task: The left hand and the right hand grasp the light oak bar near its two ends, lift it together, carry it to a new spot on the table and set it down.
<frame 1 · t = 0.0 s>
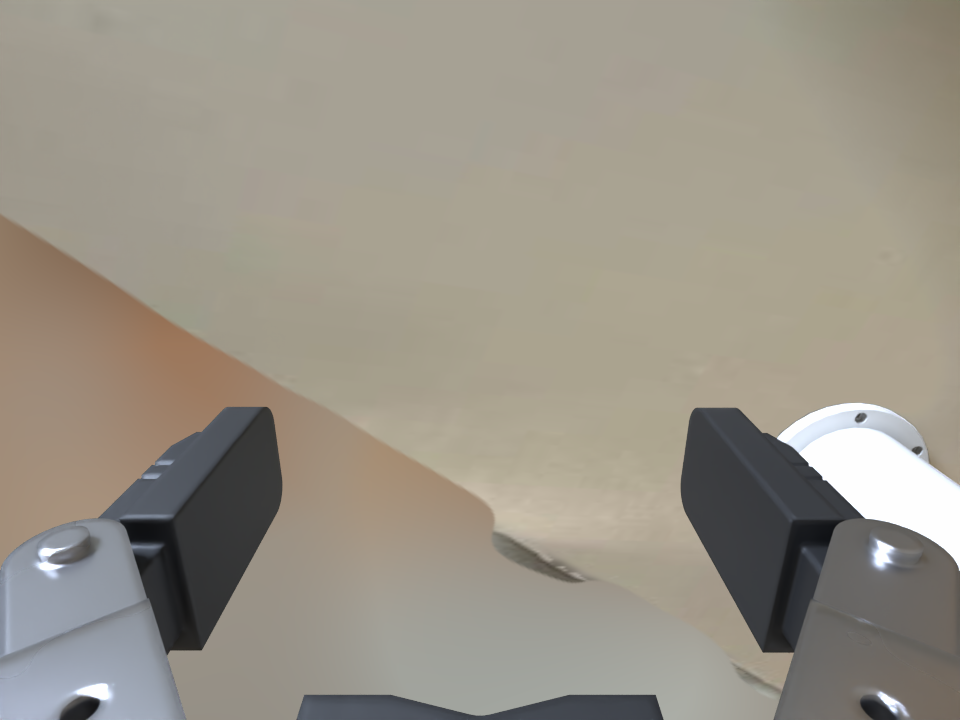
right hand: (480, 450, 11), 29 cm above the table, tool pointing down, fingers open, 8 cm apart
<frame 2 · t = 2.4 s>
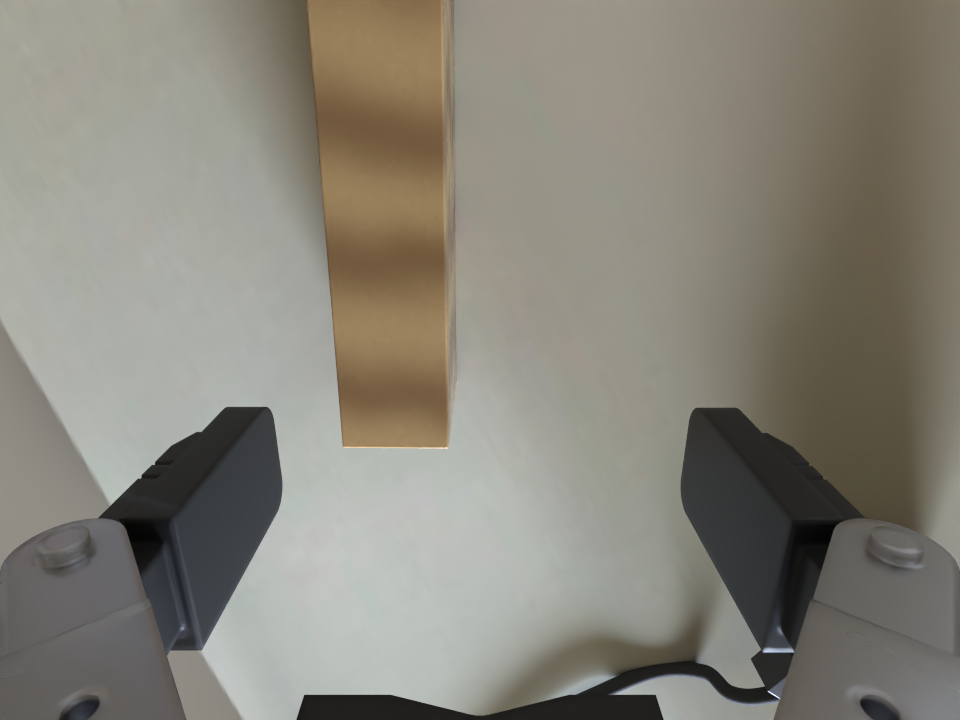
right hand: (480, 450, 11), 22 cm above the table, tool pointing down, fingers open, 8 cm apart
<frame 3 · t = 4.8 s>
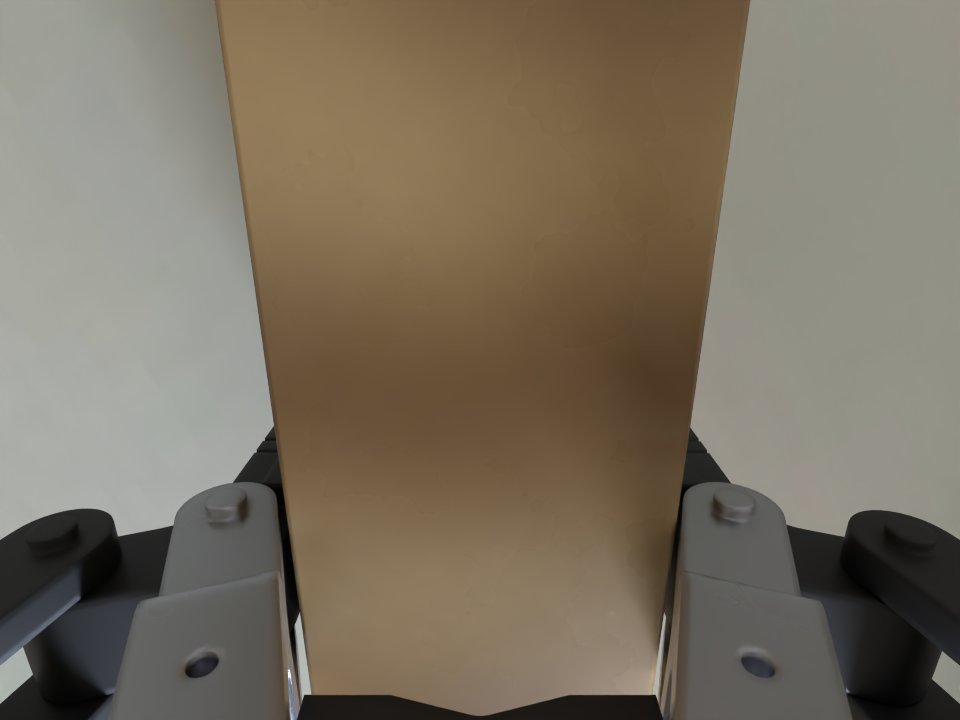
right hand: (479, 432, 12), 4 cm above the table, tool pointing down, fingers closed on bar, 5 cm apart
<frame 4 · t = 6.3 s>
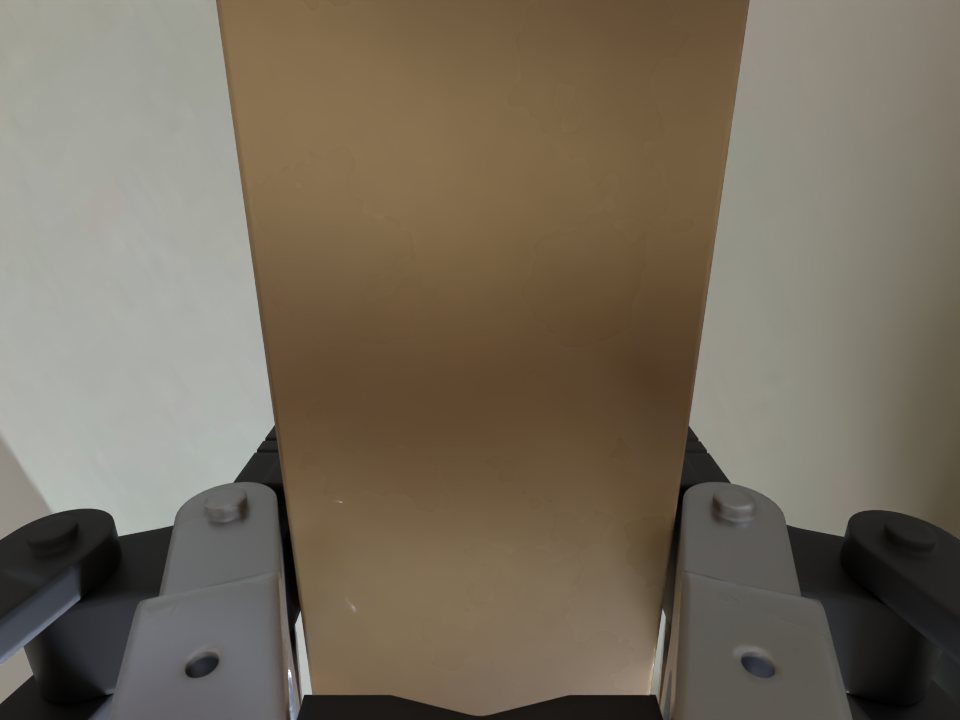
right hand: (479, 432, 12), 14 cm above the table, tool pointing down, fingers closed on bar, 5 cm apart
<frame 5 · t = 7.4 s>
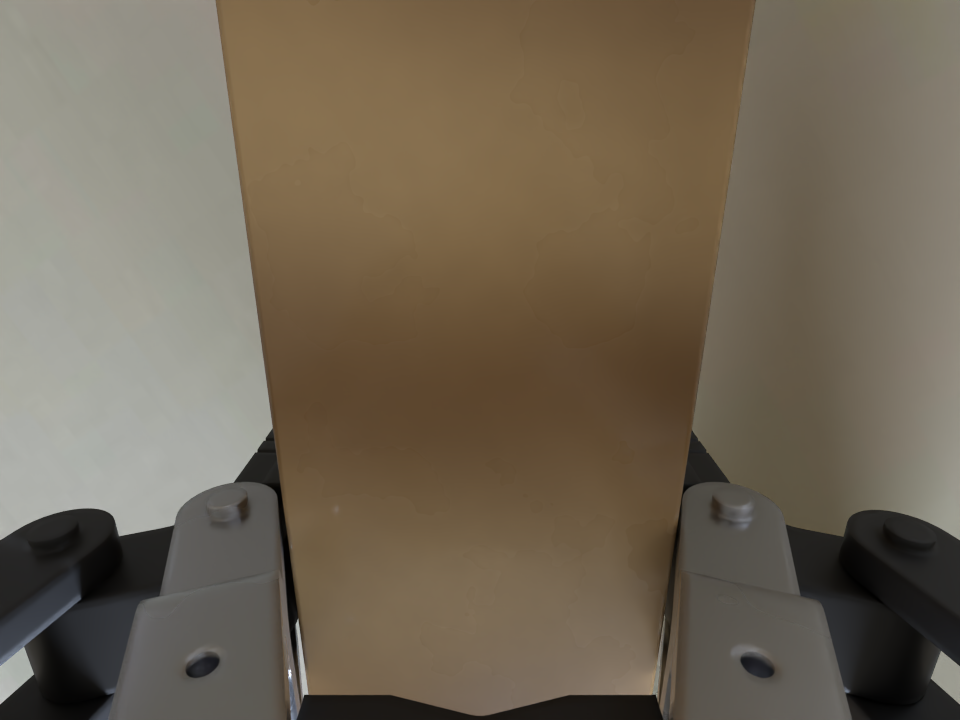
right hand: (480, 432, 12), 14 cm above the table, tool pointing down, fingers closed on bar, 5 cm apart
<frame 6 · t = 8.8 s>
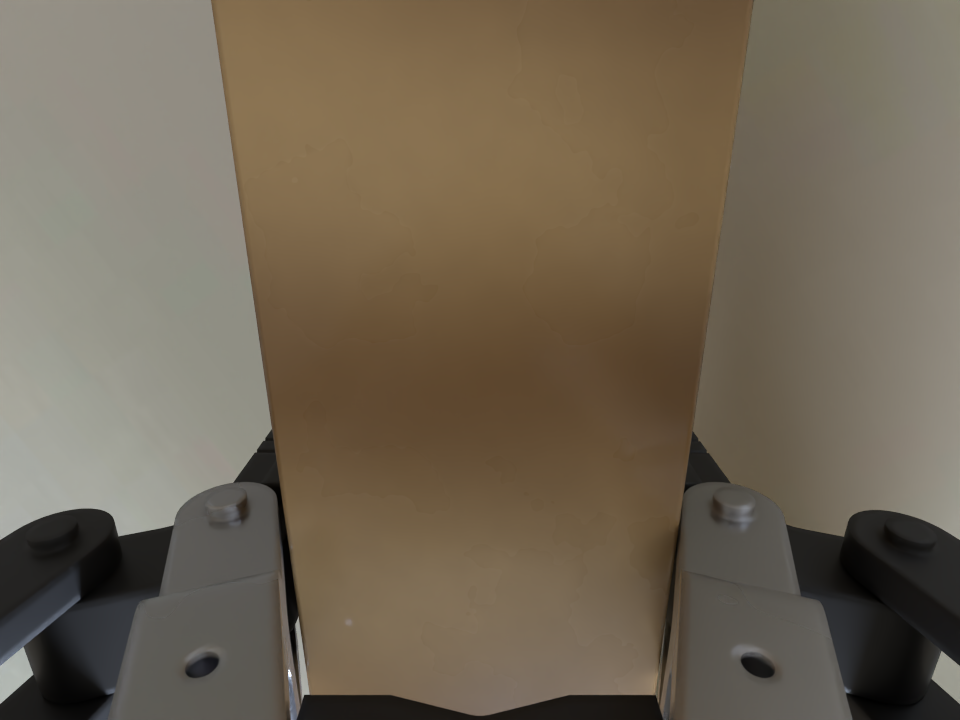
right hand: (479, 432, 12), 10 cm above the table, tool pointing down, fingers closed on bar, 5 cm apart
when the left hand's fingers open (4 cm above the table, at t = 10.1 s): bar stays where it is, on the table.
when the right hand's fingers open (5 cm above the table, at t = 10.1 s): bar stays where it is, on the table.
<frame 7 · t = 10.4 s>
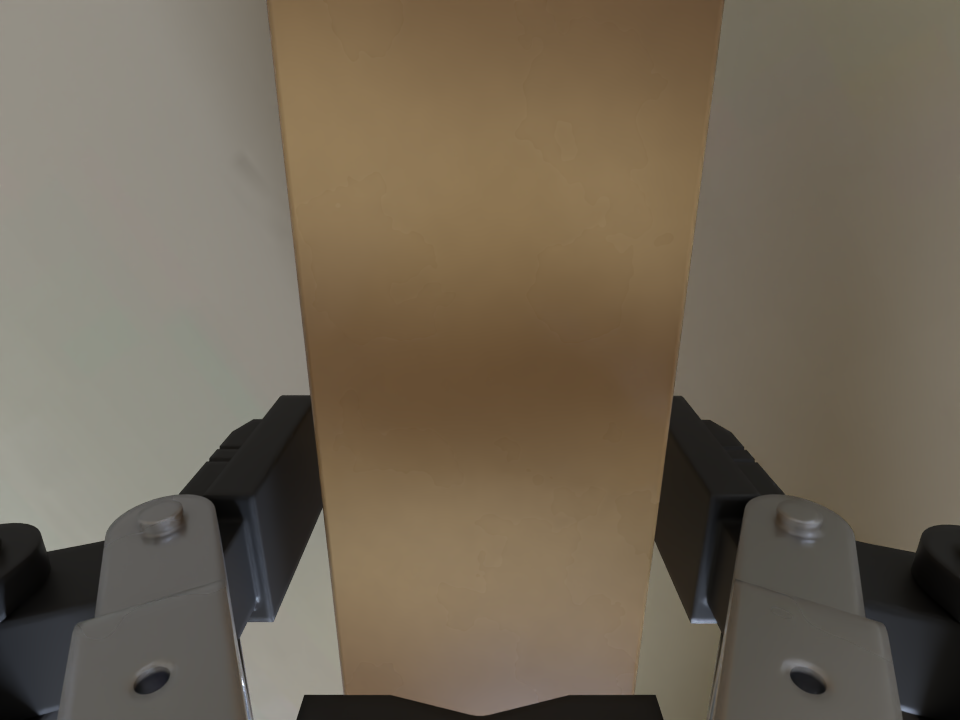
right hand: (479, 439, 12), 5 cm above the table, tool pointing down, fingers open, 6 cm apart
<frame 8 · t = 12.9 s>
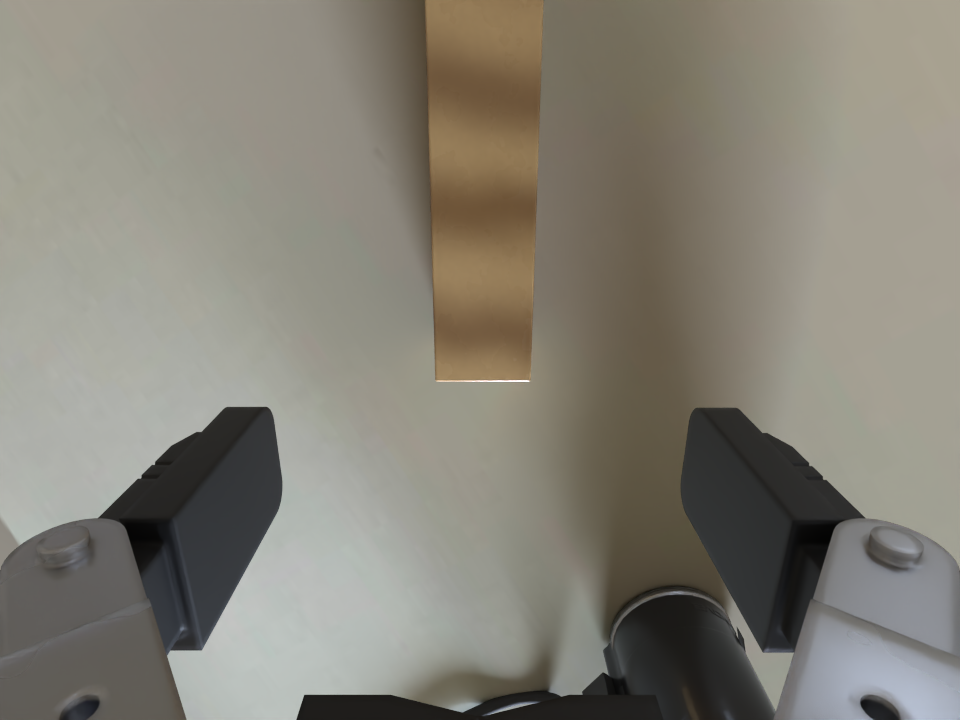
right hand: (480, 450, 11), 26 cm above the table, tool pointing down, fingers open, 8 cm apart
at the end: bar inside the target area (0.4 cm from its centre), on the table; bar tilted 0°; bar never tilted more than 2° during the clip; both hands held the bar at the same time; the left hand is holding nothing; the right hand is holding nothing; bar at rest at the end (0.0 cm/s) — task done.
